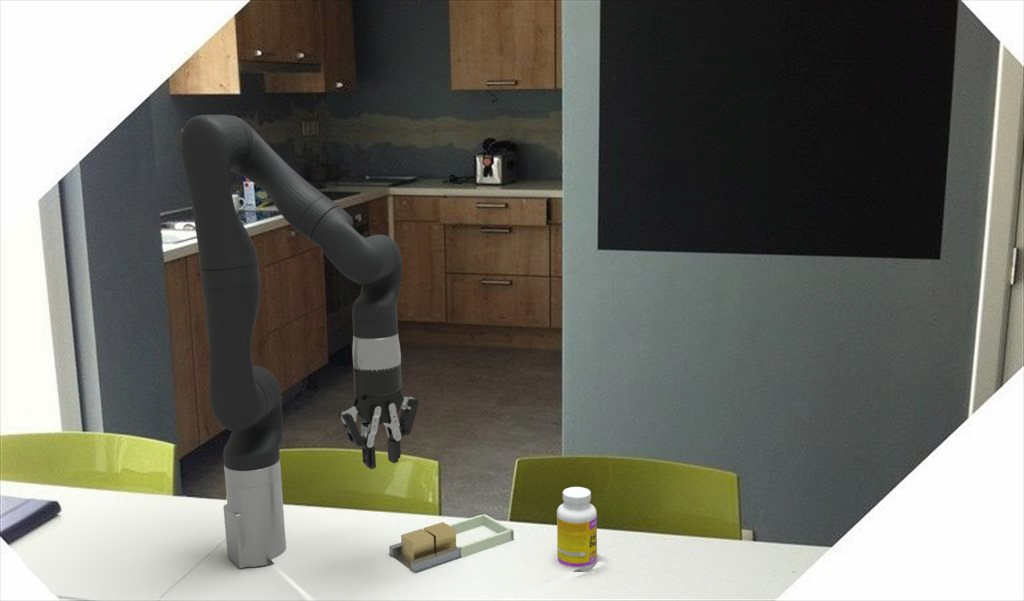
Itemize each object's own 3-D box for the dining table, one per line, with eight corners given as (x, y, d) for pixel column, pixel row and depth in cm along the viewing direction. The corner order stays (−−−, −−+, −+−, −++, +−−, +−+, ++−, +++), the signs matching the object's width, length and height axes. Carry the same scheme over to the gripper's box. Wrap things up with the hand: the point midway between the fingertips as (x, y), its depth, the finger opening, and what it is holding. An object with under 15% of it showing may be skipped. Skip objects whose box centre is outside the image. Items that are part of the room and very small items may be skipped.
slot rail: (415, 578, 155) (415, 564, 155) (388, 559, 163) (388, 545, 162) (461, 562, 161) (461, 549, 160) (433, 544, 168) (433, 531, 167)
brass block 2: (436, 557, 160) (435, 535, 160) (424, 549, 164) (423, 528, 163) (456, 551, 163) (455, 529, 162) (443, 543, 166) (443, 521, 165)
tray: (461, 562, 161) (461, 547, 160) (433, 544, 168) (433, 529, 167) (513, 544, 167) (513, 530, 166) (484, 528, 174) (484, 513, 174)
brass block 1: (414, 565, 158) (413, 543, 157) (402, 557, 161) (401, 535, 160) (434, 558, 160) (433, 536, 159) (422, 550, 163) (421, 528, 163)
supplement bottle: (594, 574, 156) (594, 501, 153) (554, 571, 157) (553, 498, 154) (599, 556, 162) (598, 485, 160) (560, 553, 163) (559, 483, 161)
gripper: (403, 350, 158) (408, 449, 161) (325, 364, 149) (331, 468, 153) (427, 358, 152) (431, 461, 155) (347, 374, 143) (353, 481, 147)
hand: (382, 464), depth 154 cm, fingers open, 3 cm apart
